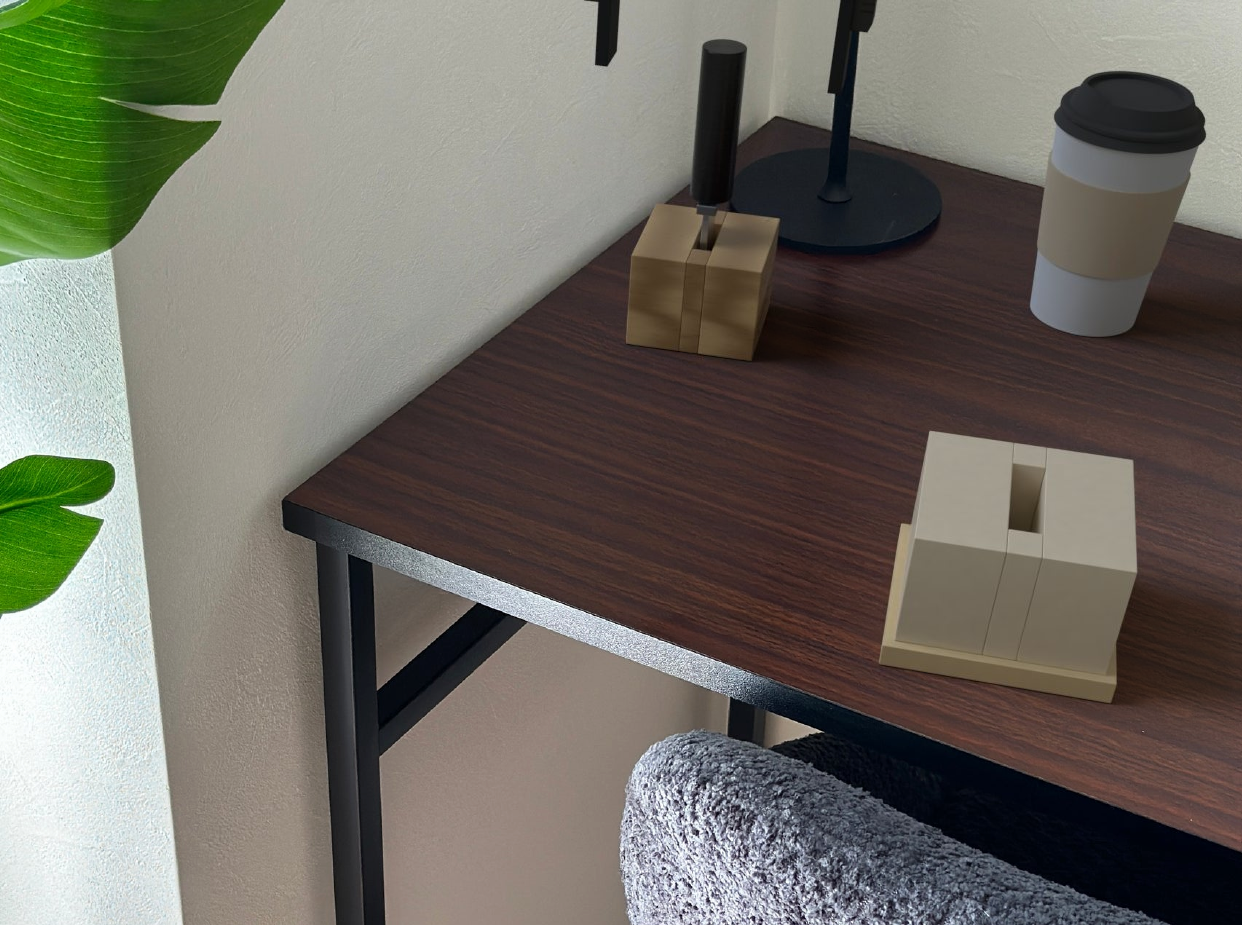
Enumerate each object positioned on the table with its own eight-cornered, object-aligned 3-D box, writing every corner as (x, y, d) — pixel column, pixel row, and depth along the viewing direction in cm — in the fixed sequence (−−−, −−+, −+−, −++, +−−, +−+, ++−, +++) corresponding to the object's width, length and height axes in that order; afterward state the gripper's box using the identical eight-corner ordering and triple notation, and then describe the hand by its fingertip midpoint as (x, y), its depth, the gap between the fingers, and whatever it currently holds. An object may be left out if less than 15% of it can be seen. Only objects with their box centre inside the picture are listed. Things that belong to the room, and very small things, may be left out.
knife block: (769, 304, 113) (780, 218, 109) (751, 361, 107) (762, 271, 103) (650, 288, 114) (656, 202, 110) (625, 344, 108) (631, 254, 104)
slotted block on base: (1109, 574, 90) (1143, 456, 85) (1111, 703, 82) (1149, 580, 77) (897, 541, 92) (920, 423, 87) (878, 664, 83) (902, 541, 79)
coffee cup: (1117, 277, 117) (1175, 55, 107) (1177, 340, 110) (1245, 108, 101) (991, 284, 116) (1039, 60, 106) (1044, 348, 109) (1100, 114, 99)
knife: (723, 315, 111) (751, 39, 100) (715, 338, 109) (743, 57, 98) (683, 310, 112) (707, 35, 100) (674, 332, 109) (697, 53, 98)
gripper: (503, -359, 86) (496, 68, 99) (1011, -319, 82) (931, 121, 95) (540, -381, 91) (528, 26, 105) (1016, -344, 87) (940, 75, 101)
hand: (719, 72), depth 100 cm, fingers open, 13 cm apart
